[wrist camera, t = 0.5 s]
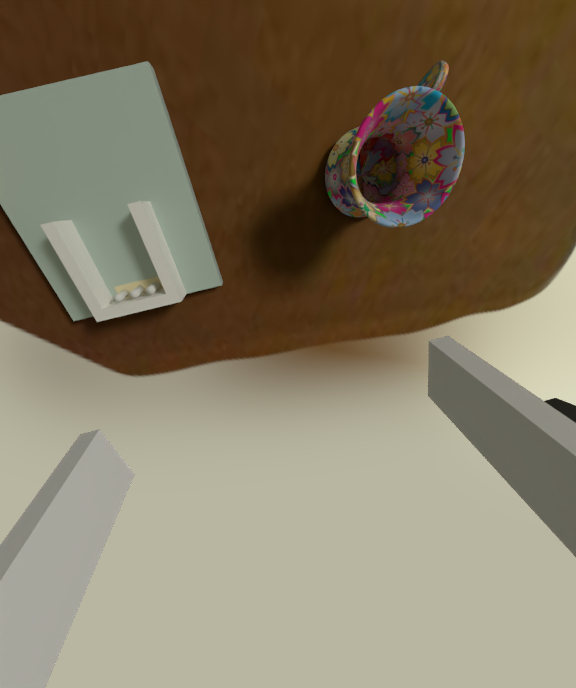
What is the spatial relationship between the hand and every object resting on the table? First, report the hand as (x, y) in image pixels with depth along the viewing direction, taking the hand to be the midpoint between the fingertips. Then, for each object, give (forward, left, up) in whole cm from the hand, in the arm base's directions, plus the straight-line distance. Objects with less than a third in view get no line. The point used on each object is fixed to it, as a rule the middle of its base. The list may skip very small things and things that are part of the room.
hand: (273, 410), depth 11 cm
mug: (-9, +14, -26) cm, 31 cm away
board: (-10, -14, -26) cm, 31 cm away
